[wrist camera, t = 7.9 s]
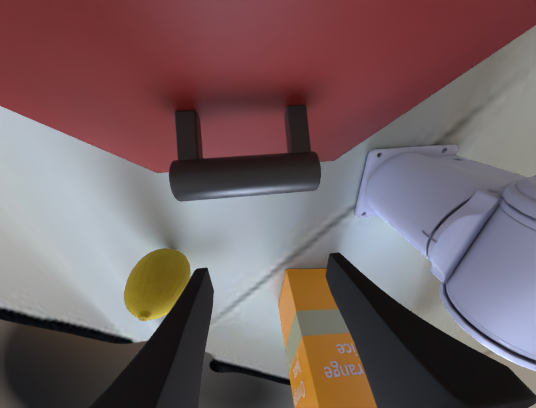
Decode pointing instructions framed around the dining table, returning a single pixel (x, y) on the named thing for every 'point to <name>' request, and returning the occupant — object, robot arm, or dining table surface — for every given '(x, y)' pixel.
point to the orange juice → (319, 346)
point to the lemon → (156, 283)
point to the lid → (239, 78)
